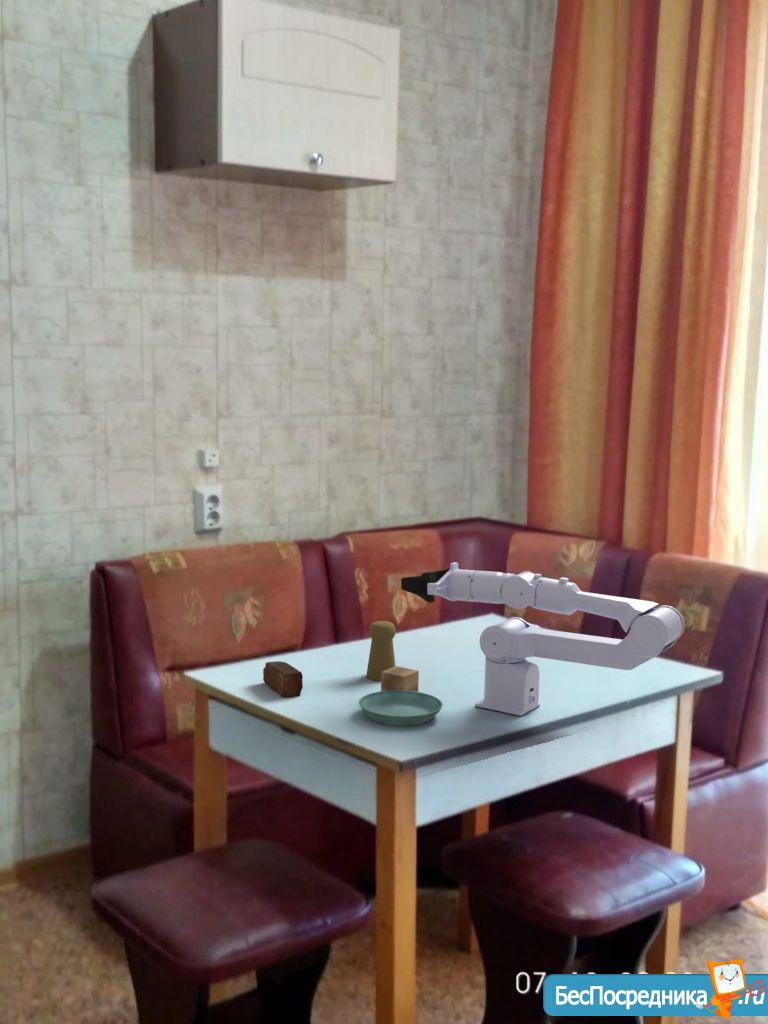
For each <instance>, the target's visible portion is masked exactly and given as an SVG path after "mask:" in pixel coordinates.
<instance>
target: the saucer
mask: <svg viewBox="0 0 768 1024" xmlns="http://www.w3.org/2000/svg"><path fill="white" fill-rule="evenodd" d="M358 704H359V707H360V708H361V710H362V711H363V712H364V713H365V715H367V716H368V717H369V718H370V719H372V720H373V721H375V722H376V723H379V722H380V724H384V725H388V726H399V727H400V726H401V727H405V726H406V727H407V726H409V727H410V726H417V725H421V724H422V725H423V724H424V723H427V722H429V721H431V720H432V719H433V718H434V717H436V715H438V714H439V712H440V711H441V709H442V708H443V705H444V704H443V701H442V700H441V699H440V698H438V697H436V696H434V695H431V694H429V693H428V694H427V693H424V692H421V691H418V692H415V691H405V690H391V691H381V690H380V691H375V692H370V693H367V694H365V695H364V696H361V698H359V700H358Z"/></svg>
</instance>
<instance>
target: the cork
mask: <svg viewBox="0 0 768 1024" xmlns="http://www.w3.org/2000/svg"><path fill="white" fill-rule="evenodd" d="M368 631H369V633H368V634H369V637H371V643H370V649H369V655H368V663H367V669H366V676H365V677H366V679H368V680H370V681H374V680H375V682H381V672H383V671H385V670H388V669H390V668H393V667H395V666H396V659H395V658H396V657H395V648H394V641H393V639H394V637H395V636H396V631H397V629H396V626H395V624H394V623H393V622H391V621H386V620H378V621H377V620H376V621H374V622H372V623H370V625H369V628H368Z"/></svg>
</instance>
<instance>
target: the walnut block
mask: <svg viewBox="0 0 768 1024" xmlns="http://www.w3.org/2000/svg"><path fill="white" fill-rule="evenodd" d="M419 673H420V671H419V670H418V669H413V668H407V667H402V666H397V665H395V667H393V668H390V669H388V670H385V671H383V672H381V681H380V691H391V690H405V691H415V692H419V681H420V679H419V678H420V677H419Z"/></svg>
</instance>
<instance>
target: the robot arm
mask: <svg viewBox="0 0 768 1024" xmlns="http://www.w3.org/2000/svg"><path fill="white" fill-rule="evenodd" d="M569 580H570V578H568V577H563V576H562V577H560V578H558V579H555V578H549V577H543V575H542V573H533V572H531V570H525V571H521V572H520V573H518V574H516V573H509V572H506V573H505V572H501V571H489V570H488V571H487V570H474V569H463V568H462V569H461V567H460V565H459V563H458V562H456V561H455V562H451V563H450V565H449V568H446V569H441V570H433V571H426V572H422V573H421V575H415V576H407V577H402V578H401V580H400V585H401V587H400V588H401V590H402V591H404V592H406V593H410V594H413V595H416V596H418V597H420V598H421V599H422V600H424V601H425V602H426V603H429V604H430V603H434V602H435V596H439V597H442V598H444V599H446V600H448V601H449V602H450V601H451V602H456V601H462V602H474V603H485V604H496V605H499V604H504V605H507V606H509V607H510V608H512V609H515V610H519V611H520V610H523V609H525V608H527V607H531V608H533V609H535V610H540V611H544V612H545V611H546V612H550V613H555V614H559V615H565V616H571V615H572V614H574V613H575V612H576V611H580V612H584V613H588V614H592V615H597V616H600V617H605V618H608V619H613V620H616V621H618V622H619V624H620V626H621V628H622V630H623V631H624V632H625V633H626V634H627V633H628V634H627V635H626V636H625V637H624V638H623V639H620V638H613V637H612V638H611V637H605V636H598V635H590V634H582V633H577V632H576V633H575V632H567V631H561V630H553V629H545V628H541V626H539V625H537V624H533V623H529V622H527V621H526V620H525V619H523V618H521V617H518V616H512V617H508V618H507V619H505V620H504V621H502V622H499V623H496V624H494V625H491V626H487V627H486V628H485V629H484V630H483V631H482V632H481V634H480V637H479V646H480V649H481V652H482V653H483V654H484V656H485V661H484V665H485V666H484V691H483V699H480V700H479V701H477V702H475V703H474V707H478V708H483V709H487V710H492V711H497V712H502V713H504V714H505V713H506V714H511V715H516V716H524V715H525V714H526V713H528V712H530V711H532V710H534V709H536V708H537V707H539V706H541V702H539V695H540V690H539V689H540V669H539V666H538V665H537V663H534V662H530V661H528V660H527V659H526V658H533V657H535V658H541V659H548V660H555V661H561V662H567V663H568V662H569V663H575V664H581V665H582V664H583V665H590V666H595V667H601V668H602V667H603V668H609V669H615V670H623V671H631V670H634V669H636V668H637V667H640V666H641V665H643V664H645V663H646V662H648V661H651V660H653V659H654V658H656V657H658V656H659V655H661V654H662V653H664V652H665V651H666V650H668V649H670V648H672V647H673V646H674V644H675V643H676V642H677V641H678V640H679V639H680V637H681V636H682V635H683V634H684V631H685V619H684V617H683V614H682V613H681V612H680V611H679V610H678V609H676V608H675V607H673V606H670V605H665V604H664V605H660V606H658V605H659V603H657V602H655V601H650V600H645V599H637V598H628V597H624V596H615V595H608V594H600V593H594V592H587V591H582V590H581V588H579V586H578V585H577V584H576V583H575V582H570V581H569ZM656 606H657V607H656Z"/></svg>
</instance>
